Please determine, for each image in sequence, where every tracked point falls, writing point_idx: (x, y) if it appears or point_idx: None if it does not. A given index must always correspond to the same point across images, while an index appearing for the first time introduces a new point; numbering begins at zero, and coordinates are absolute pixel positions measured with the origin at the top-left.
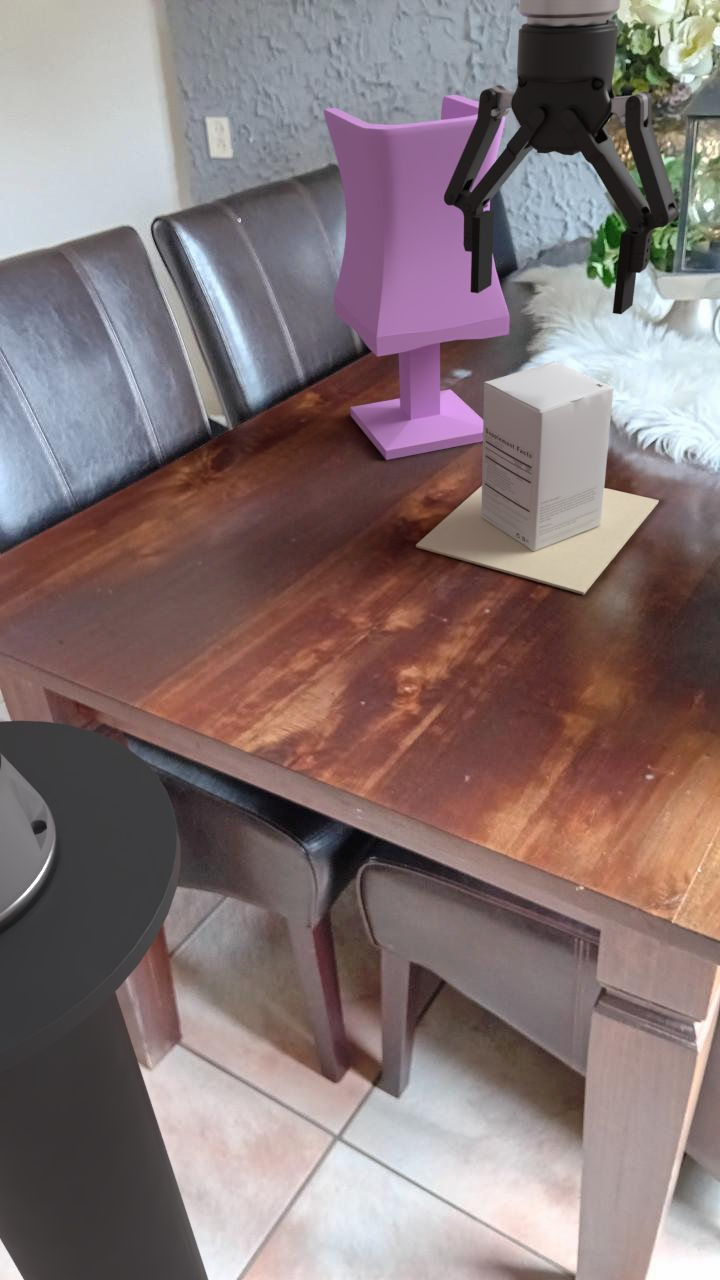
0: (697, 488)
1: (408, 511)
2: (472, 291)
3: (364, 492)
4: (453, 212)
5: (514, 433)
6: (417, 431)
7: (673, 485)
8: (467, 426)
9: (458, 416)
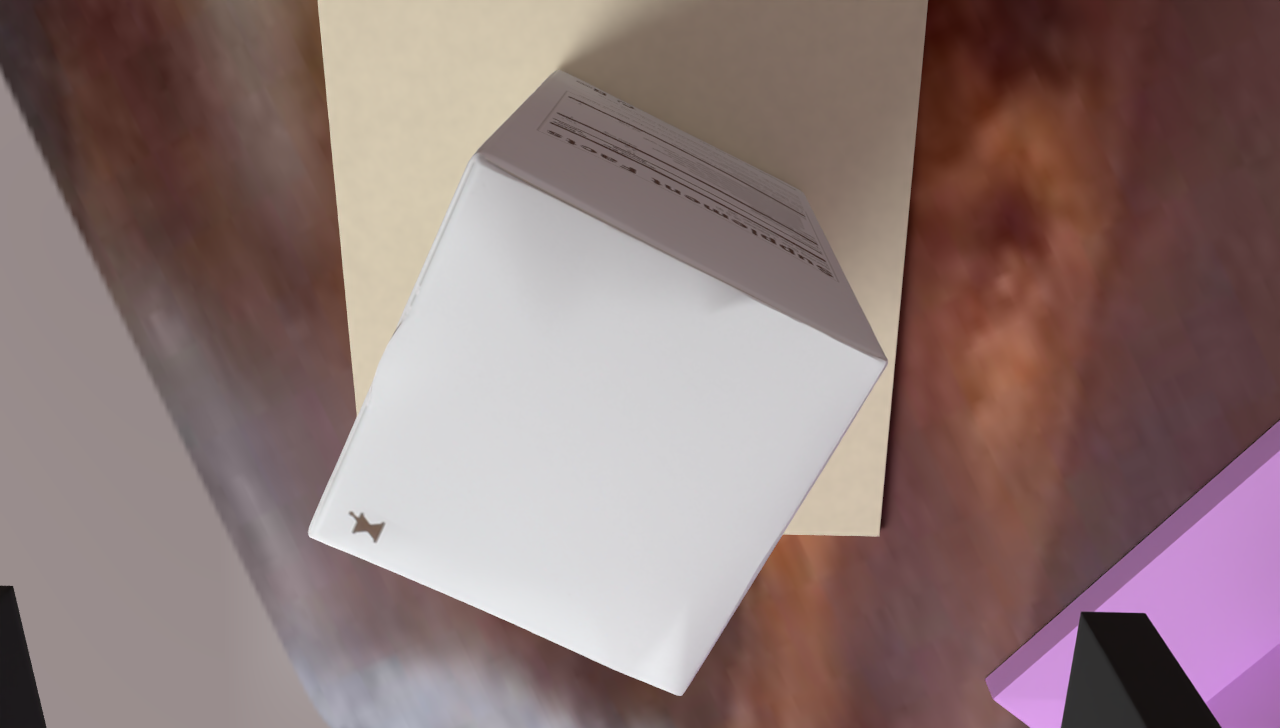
0: (313, 638)
1: (1061, 133)
2: (1131, 617)
3: (1268, 182)
4: None
5: (651, 192)
6: (1239, 582)
7: (377, 628)
8: None
9: None
